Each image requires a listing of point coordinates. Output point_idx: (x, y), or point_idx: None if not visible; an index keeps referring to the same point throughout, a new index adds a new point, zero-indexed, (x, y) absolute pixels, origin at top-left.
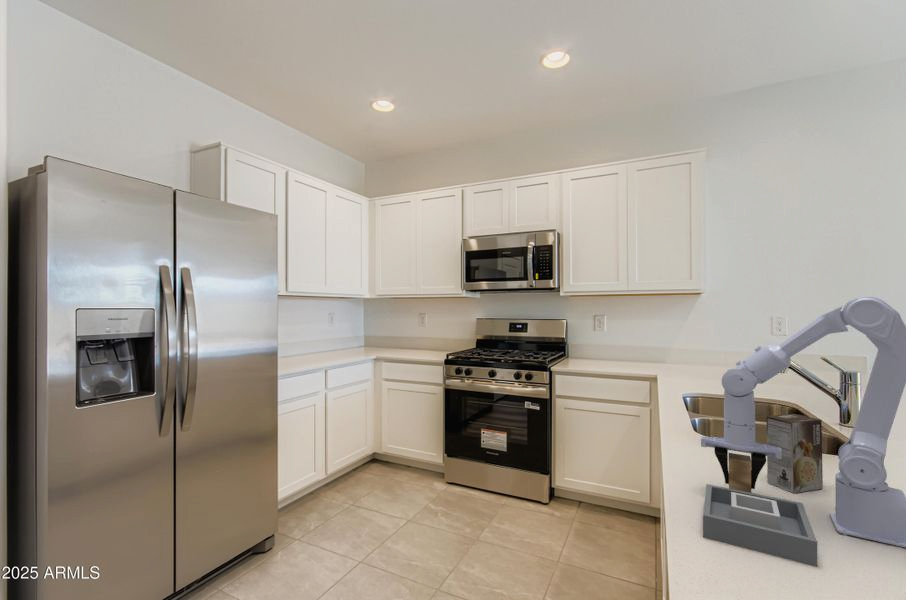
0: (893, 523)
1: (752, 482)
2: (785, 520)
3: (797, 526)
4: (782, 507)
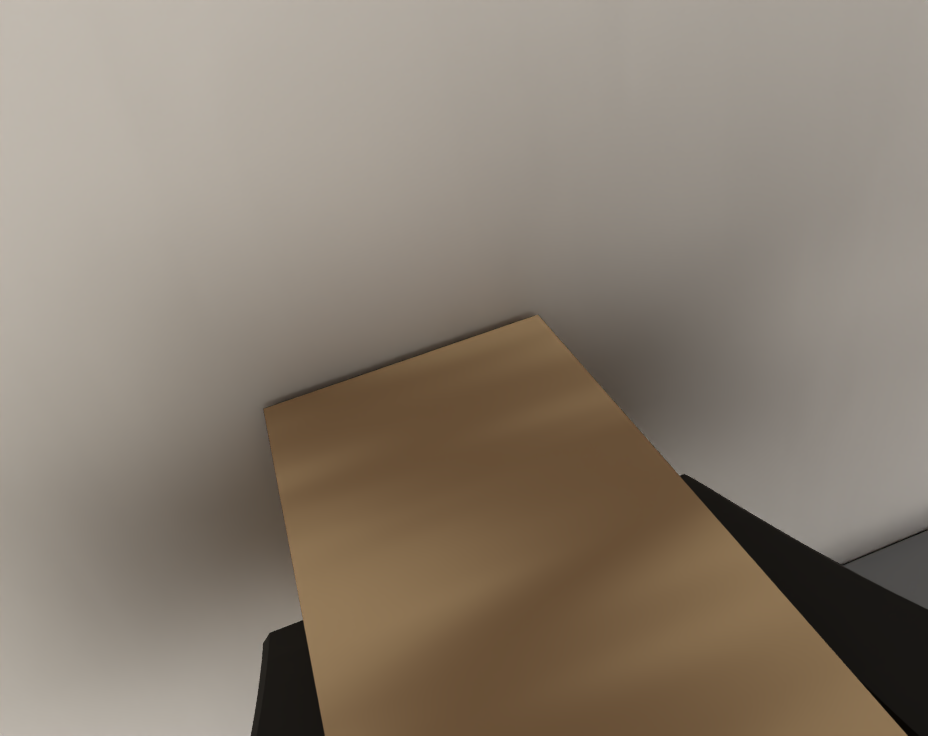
0: None
1: None
2: None
3: None
4: None
